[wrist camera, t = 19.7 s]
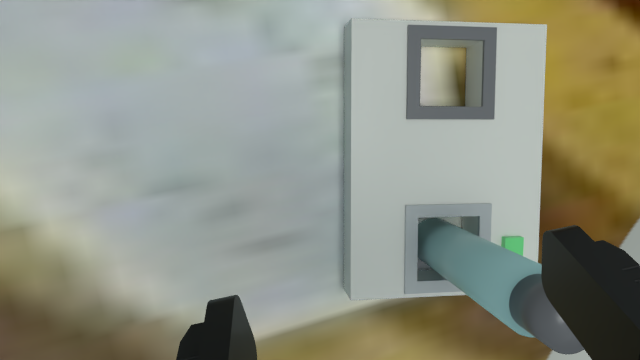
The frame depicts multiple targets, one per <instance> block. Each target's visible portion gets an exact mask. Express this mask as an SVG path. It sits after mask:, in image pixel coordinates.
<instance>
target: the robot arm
mask: <svg viewBox="0 0 640 360" xmlns="http://www.w3.org/2000/svg"><path fill="white" fill-rule="evenodd" d="M541 279H542V285H543V289H544V292H545V294H546V296H547V298H548V300H549V302H550V303H551V304H552V306H553V307H554V308H555V310H556V311H557V313H558V314H559V315H560V317H561V318H562V319H563V321H564V322H565V323H566V325H567V326H568V327H569V329H570V330H571V332H572V333H573V334H574V336H575V337H576V338H577V340H578V341H579V342H580V344H581V345H582V347H583V348H584V349H585V351H586V352H587V353H588V355H589V356H590V357H591V359H592V360H640V266H639V264H638V263H637V262H636V261H635V260H633V258H632V257H630V256H629V255H628V254H627V253H626V252H625V251H624V250H622V249H620V248H618V247H616V246H614V245H612V244H610V243H608V242H606V241H604V240H601V241H596V242H594V241H593V240H592V239H591V238H590V237H589V236H588V235H587V234H586V233H585V232H584V231H583V230H582V229H581V228H580V227H578V226H576V225H573V226H568V227H563V228H559V229H554V230H549V231H546V232H544V234H543V241H542V271H541ZM176 360H257V352H256V345H255V340H254V337H253V334H252V331H251V328H250V325H249V322H248V320H247V317H246V314H245V311H244V308H243V306H242V303H241V300H240V298H239V296H238V295H234V296H229V297H224V298H219V299H214V300H210V301H209V302H208V304H207V309H206V315H205V321H204V322H203V323H198V324H194V325H191V326H190V328H189V329H188V331H187V332H186V334H185V335H184V337H183V338H182V340H181V342H180V345H179V350H178V354H177V359H176Z"/></svg>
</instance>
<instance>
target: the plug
mask: <svg viewBox="0 0 640 360" xmlns="http://www.w3.org/2000/svg"><path fill="white" fill-rule="evenodd" d="M418 258H419V259H420V260H422V261H423V262H424V263H426V264H427V265H428V266H430V267H431V268H432V269H433V270H435V271H436V272H437V273H439V274H440V275H441V276H443V277H444V278H445V279H447V280H448V281H449V282H451V283H452V284H453V285H454V286H456V287H457V288H458V289H460V290H461V291H462V292H464V293H465V294H466V295H468V296H469V297H470V298H472V299H473V300H474V301H476V302H477V303H478V304H479V305H481V306H482V307H483V308H485V309H486V310H487V311H489V312H490V313H491V314H493V315H494V316H495V317H497V318H498V319H499V320H501V321H502V322H503V323H504V324H506V325H507V326H508V327H510V328H511V329H512V330H514V331H515V332H517V333H518V334H520V335H523V336H526V337H536V338H537V339H538V340H540V341H541V342H543V343H544V344H545V345H547V346H548V347H549V348H551V349H552V350H554V351H556V352H558V353H562V354H574V353H578V352H580V351H582V350H584V348H583V347H582V345H581V344H580V342H579V341H578V340H577V338H576V337H575V336H574V334H573V333H572V332H571V330H570V329H569V327H568V326H567V325H566V323H565V322H564V321H563V319H562V318H561V317H560V315H559V314H558V313H557V311H556V310H555V308H554V307H553V306H552V304H551V303H550V302H549V300H548V298H547V296H546V294H545V292H544V289H543V285H542V279H541V271H542V265H541V264H539V263H537V262H535V261H532V260H530V259H528V258H526V257H524V256H521V255H519V254H517V253H515V252H513V251H510V250H508V249H506V248H504V247H501V246H499V245H497V244H495V243H493V242H490V241H488V240H486V239H484V238H482V237H479V236H477V235H475V234H473V233H471V232H468V231H466V230H464V229H462V228H460V227H457V226H455V225H453V224H451V223H448V222H446V221H444V220H442V219H438V218H430V219H427V220H424V221H422V222H421V223H420V224H419V225H418Z"/></svg>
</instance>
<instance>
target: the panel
mask: <svg viewBox="0 0 640 360" xmlns="http://www.w3.org/2000/svg"><path fill="white" fill-rule="evenodd" d="M546 33H547V25H543V24H512V23H480V22H448V21H416V20H384V19H351V20H350V21H349V22H348V23H347V25H346V26H345V27H344V290H345V292H346V293H347V295H348V297H349V298H350V300H368V299H389V298H409V297H430V296H451V295H466V294H465V293H464V292H462V291H461V290H460V289H458V288H457V287H456V286H454V285H453V284H452V283H451V282H449V281H448V280H447V279H445V278H444V277H443V276H441V275H440V274H439V273H437V272H436V271H435V270H433V269H427V270H417V260H418V218H426V217H462V229H464V230H466V231H468V232H471V233H473V234H475V235H477V236H479V237H482V238H484V239H486V240H488V241H490V242H493V243H495V244H497V245H499V246H501V247H504V248H506V249H508V250H510V251H513V252H515V253H517V254H519V255H521V256H524V257H526V258H528V259H530V260H532V261H535V262H537V263H538V244H539V217H540V191H541V165H542V139H543V112H544V86H545V60H546ZM421 47H462V48H467V49H466V91H465V107H451V106H420V71H421Z"/></svg>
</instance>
